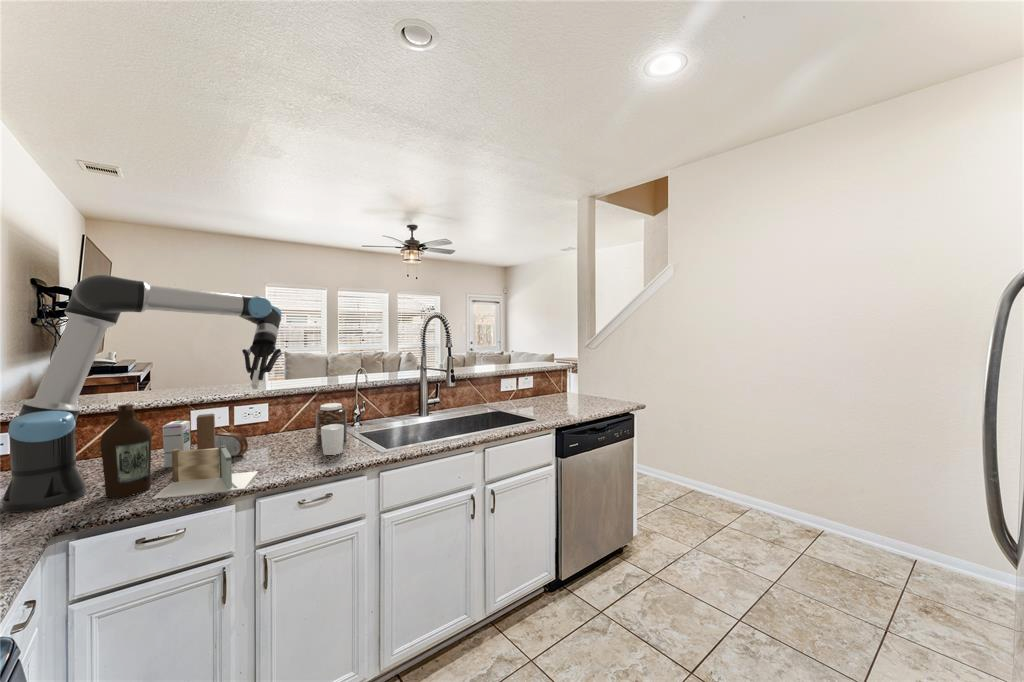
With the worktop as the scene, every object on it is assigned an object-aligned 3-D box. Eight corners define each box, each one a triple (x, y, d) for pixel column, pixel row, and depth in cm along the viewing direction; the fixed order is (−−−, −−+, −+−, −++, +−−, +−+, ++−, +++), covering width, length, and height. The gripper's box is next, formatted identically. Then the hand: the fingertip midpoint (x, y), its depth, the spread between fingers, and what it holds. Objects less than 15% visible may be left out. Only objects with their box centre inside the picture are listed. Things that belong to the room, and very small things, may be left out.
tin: (248, 455, 149) (248, 433, 149) (241, 458, 146) (240, 435, 146) (216, 452, 153) (215, 430, 153) (208, 455, 150) (207, 432, 150)
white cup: (325, 458, 147) (324, 430, 146) (318, 452, 153) (318, 426, 152) (347, 453, 152) (347, 427, 152) (340, 448, 158) (339, 423, 158)
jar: (352, 441, 168) (351, 405, 167) (323, 447, 160) (322, 409, 159) (339, 435, 176) (339, 401, 176) (311, 441, 168) (310, 405, 167)
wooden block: (180, 475, 130) (178, 419, 129) (182, 471, 134) (180, 416, 133) (215, 469, 135) (213, 415, 134) (216, 465, 138) (214, 413, 138)
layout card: (151, 499, 112) (151, 497, 112) (176, 480, 126) (176, 478, 126) (244, 489, 119) (244, 488, 119) (258, 472, 133) (258, 470, 132)
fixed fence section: (171, 483, 123) (170, 451, 122) (174, 481, 125) (173, 449, 124) (225, 478, 127) (225, 446, 127) (227, 476, 129) (227, 445, 129)
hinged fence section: (221, 476, 126) (220, 448, 126) (226, 475, 127) (225, 447, 127) (226, 488, 117) (225, 457, 117) (232, 487, 118) (231, 456, 118)
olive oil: (96, 494, 115) (92, 406, 114) (143, 481, 124) (141, 400, 123) (111, 502, 110) (108, 410, 109) (160, 488, 119) (157, 403, 118)
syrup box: (184, 466, 138) (183, 423, 137) (163, 468, 136) (162, 424, 136) (192, 460, 143) (190, 419, 143) (171, 462, 142) (170, 421, 141)
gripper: (286, 344, 163) (277, 392, 148) (248, 344, 159) (235, 394, 144) (282, 330, 158) (273, 379, 143) (243, 331, 154) (230, 381, 139)
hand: (254, 386), depth 143 cm, fingers closed
